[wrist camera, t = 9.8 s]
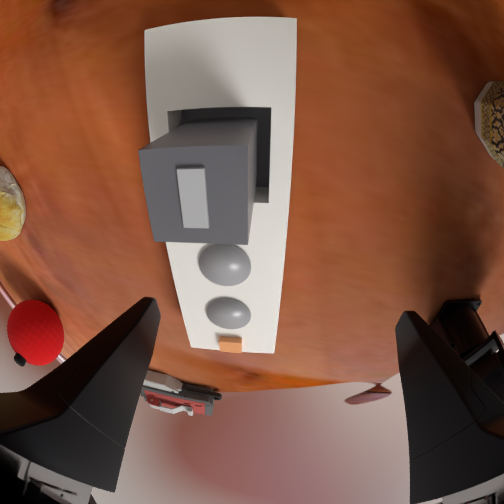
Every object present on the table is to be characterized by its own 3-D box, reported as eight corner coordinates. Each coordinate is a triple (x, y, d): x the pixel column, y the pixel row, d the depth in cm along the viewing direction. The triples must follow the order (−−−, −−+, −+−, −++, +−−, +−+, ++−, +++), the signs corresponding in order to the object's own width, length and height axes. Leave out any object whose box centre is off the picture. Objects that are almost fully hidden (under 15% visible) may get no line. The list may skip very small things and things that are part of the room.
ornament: (46, 326, 33) (20, 374, 25) (18, 283, 28) (-17, 333, 19) (84, 334, 32) (57, 391, 24) (54, 287, 27) (15, 348, 19)
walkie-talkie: (223, 382, 36) (98, 352, 35) (219, 409, 32) (88, 374, 31) (221, 403, 41) (112, 377, 40) (217, 426, 37) (105, 397, 37)
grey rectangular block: (258, 117, 15) (247, 146, 8) (257, 176, 17) (247, 247, 11) (194, 118, 15) (136, 151, 9) (197, 176, 18) (153, 243, 11)
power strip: (292, 29, 12) (297, 15, 9) (274, 329, 27) (274, 358, 24) (164, 36, 12) (140, 28, 9) (197, 324, 27) (190, 352, 24)
